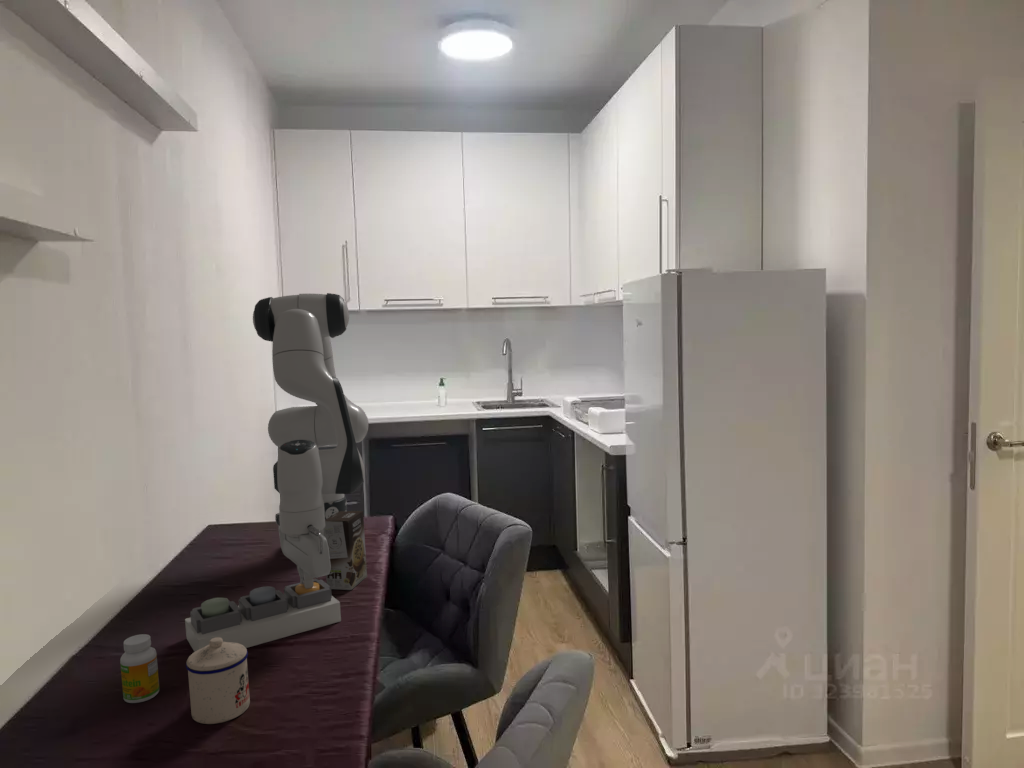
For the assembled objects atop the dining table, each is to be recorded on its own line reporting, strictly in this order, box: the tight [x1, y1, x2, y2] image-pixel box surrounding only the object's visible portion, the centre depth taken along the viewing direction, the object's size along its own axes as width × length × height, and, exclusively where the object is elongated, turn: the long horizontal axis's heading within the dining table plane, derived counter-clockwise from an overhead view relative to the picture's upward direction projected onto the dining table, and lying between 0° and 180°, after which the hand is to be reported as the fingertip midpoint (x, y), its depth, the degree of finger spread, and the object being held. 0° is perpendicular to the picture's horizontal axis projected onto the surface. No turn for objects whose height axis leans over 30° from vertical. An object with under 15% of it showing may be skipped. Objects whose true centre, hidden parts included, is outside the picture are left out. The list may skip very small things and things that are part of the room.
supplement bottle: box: [119, 633, 160, 704], centre depth 120 cm, size 5×5×10 cm
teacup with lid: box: [185, 637, 251, 725], centre depth 116 cm, size 12×9×12 cm
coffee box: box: [324, 510, 368, 591], centre depth 168 cm, size 9×6×16 cm
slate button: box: [249, 586, 276, 605], centre depth 144 cm, size 5×5×2 cm
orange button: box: [295, 582, 320, 595], centre depth 149 cm, size 5×5×2 cm
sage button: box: [200, 597, 229, 618], centre depth 139 cm, size 5×5×2 cm
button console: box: [184, 578, 342, 653], centre depth 144 cm, size 12×27×6 cm, turn 125°
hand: (307, 586), depth 149 cm, fingers closed, pressing on orange button
